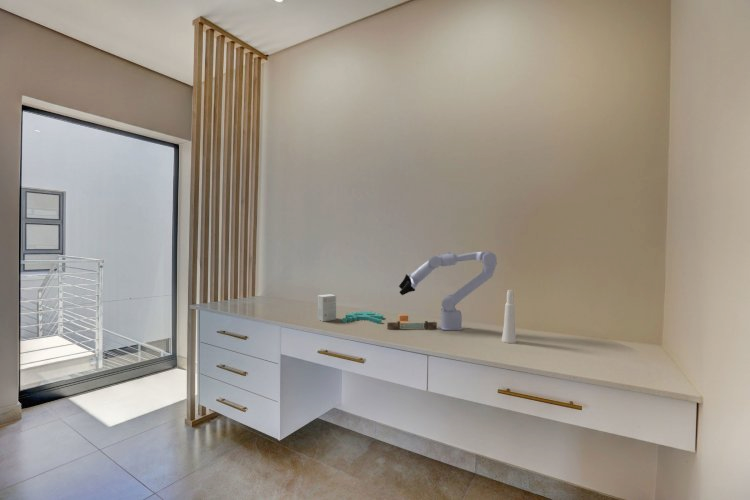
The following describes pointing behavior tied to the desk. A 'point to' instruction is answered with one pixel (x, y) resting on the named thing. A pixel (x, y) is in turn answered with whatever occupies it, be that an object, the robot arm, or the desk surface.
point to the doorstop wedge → (403, 318)
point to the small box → (326, 307)
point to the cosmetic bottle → (509, 320)
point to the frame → (397, 325)
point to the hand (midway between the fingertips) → (400, 290)
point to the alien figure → (363, 317)
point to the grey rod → (412, 325)
